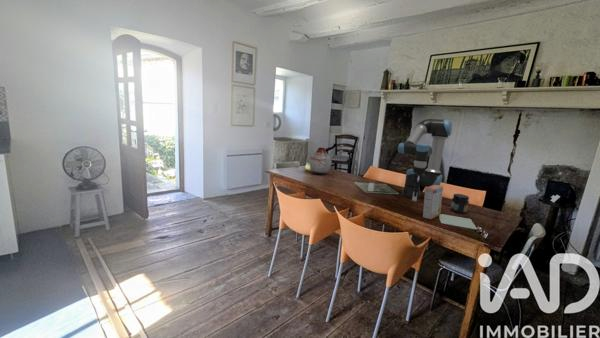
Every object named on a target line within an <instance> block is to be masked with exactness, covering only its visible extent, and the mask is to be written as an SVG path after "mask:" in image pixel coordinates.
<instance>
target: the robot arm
mask: <svg viewBox="0 0 600 338" xmlns="http://www.w3.org/2000/svg"><path fill="white" fill-rule="evenodd" d="M452 125H453V124H452V122H451V120H450V119H440V118H439V119H437V118H427V119H424V120H422V121H420V122H418V123H416V125H414V129H413V131H412V132H411V134H410V135H409V136H408V138H407V140H406V141H404V142H400V143H399V144H398V146H397V152H398V153H399V154H403V155H409V156H410V155H411V156H414V161H413V162H412V163H413V168H408V169H407V170H406V174H405V181H404V187H403V188H402V189H401V193H400V195H401V196H403V197H406V198H409V199H411V202H413V201H414V202H417V200H418V199H420V198H421V190H420V186H421V187H424V188H426V187H429V186H432V185H439V186H441V184H442V181H443V174H442V171H440V169H441V163H442V157H443V153H444V147H445V143H446V140H447V139H448V138H449V136H451V135H452V128H453V127H452ZM426 134H428V135H431V138H432V142H431V146H430V144H427V143H420V142H419V141H420V140H421V139H422V137H423V136H425V135H426ZM428 157H429V158H428ZM427 162H428V163H427ZM426 167H427V168H426Z"/></svg>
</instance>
